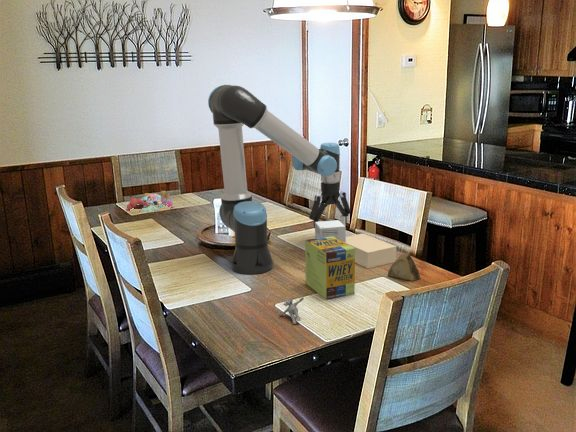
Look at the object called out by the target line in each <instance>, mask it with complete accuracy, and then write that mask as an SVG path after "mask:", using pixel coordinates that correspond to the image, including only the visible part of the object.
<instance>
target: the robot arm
mask: <svg viewBox="0 0 576 432" xmlns="http://www.w3.org/2000/svg"><path fill="white" fill-rule="evenodd" d="M207 100H208V103H207V105H208V108H209V110H210V112H211V113H212V119H213V126H215V127H216V128H217V129H218V139H219V148H220V160H221V170H222V177H223V178H222V180H223V191H224V193H223V194H222V195H221V197H220V200H221V201H220V202H221V204H220V206H219V211H218V213H219V219H220V220H221V222H222V223H223V225H224V226H225V227H226V228H228V229H230V230H232V231H233V232H234V240H235V244H234V245H235V248H234V249H235V250H234V252H233V255H232V260H231V270H232V271H233V272H236V273H238V274H243V275H256V274H263V273H267V272H269V271H271V270H273V267H274V259H273V256H272V254H271V251H270V249H269V246H268V213H267V208H266V206H265V205H264V204H263V203H260V202H259V201H253V194H252V193H251V192H250V191H248V183H247V173H246V172H247V171H246V169H247V168H246V159H245V150H244V149H245V148H244V137H243V126H244V125H245V126H246V127H247V128H249V129H254V130H256V131H257V132H259V133H260V134H262V135H264V136H265V137H266V138H268V139H270V140H271V141H272V142H273V143H275V144H276V145H278V146H279V147H280V148H282V149H283V150H285V151H286V152H288V153H289V154H290V155H291V165H292V167H293V169H294V170H296V171H303V172H304V171H309V172H312V173H315V174H318V175H320V181H321V183H320V191H321V194H320V195H314V196H313V197H314V201H313V203H312V204H313V205H312V207H311V211H310V214H309V216H308V217H309V218H308V219H309V220H311V221H313V228H314V229H315V222H320V221H321V220H320V219H321V217H322V215H323V213H324V211H325V210H326V209H327V207H328V206H331V205H335V206H336V208H337V209H338V211H339V213H340V214H341V215H340V216H339V221H340V222H341V223H342V224H343V225H344V226H345V227H346V224H347V218H348V217H349V215H350V214H351V213H352V212H351V208H350V205H349V203H348V200H347V192H345V191H340V190H341V189H340V180H341V179H340V173H341V172H340V169H341V168H340V163H341V162H340V159H341V158H340V155H341V153H340V145H339V144H338V143H337V142H323V143H320V147H317V146H315V145H314V144H313V143H311V141H309V140H307V139H306V138H305V137H304V136H303V135H301V134H299V132H297V131H295V130H294V129H293V128H292V127H290V126H289V125H288V124H287V123H285V122H284V121H282V119H280V118H278V117H277V116H276V115H274V113H272V112H270V111H269V110H268V107H267V105H266V104H265V103H263V102H262V101H261V100H260V99H259V98H257V97H256V96H255V95H254V94H253V93H251V92H250V91H249V90H248V89H246V88H244V87H242V86H240V85H231V84H221V85H219V86H217V87H214V88H213V90H211V92H210V94H209V96H208V99H207ZM339 198H340V199H339Z"/></svg>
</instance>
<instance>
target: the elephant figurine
mask: <svg viewBox="0 0 576 432" xmlns="http://www.w3.org/2000/svg"><path fill="white" fill-rule="evenodd" d="M304 300H305V297H301V298H299V299H298V301H296V302H294V297H290V298H289V299H286V300H285V301H284V303H283V304H282V305H283V306H285V307H287V308H286V309H285V310H284V311H283V312H282V313H281V312H280V314H279V316H280V317H282V316H284V315H285V314H286V313H288V314H289V316H290V318H291V320H292V321H291V322H292V324H294V325H296V324H297V321H298V322H300V321H301V317H300V315H299V309H298V307H297V305H298V304H300V303H301V302H303V301H304Z"/></svg>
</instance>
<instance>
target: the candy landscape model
mask: <svg viewBox="0 0 576 432" xmlns="http://www.w3.org/2000/svg"><path fill="white" fill-rule="evenodd" d="M160 193H161V194H158V193H149V192H145V193H144V194H143V197H142V198H138V199H137V198H136V197H132V198H130V200H129V203H128V204H127V205H126V209H125V212H126V211H130V209H132V208H134V209H142V208H143V209H142V210H141V211H139V212H151V211H155V212H156V211H157V210H160V208H164V207H163V205H165V206H166V205H167V204H168V205H167V206H168V207H170V206H172V205H173V204H174V201H173V195H170V193H167V194H166V190H161V192H160ZM166 203H167V204H166ZM137 204H139V205H137ZM148 204H152V205H148ZM162 204H163V205H162ZM154 205H158V207H156V206H154ZM159 207H160V208H159Z"/></svg>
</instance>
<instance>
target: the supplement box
mask: <svg viewBox="0 0 576 432" xmlns="http://www.w3.org/2000/svg"><path fill="white" fill-rule="evenodd" d="M333 220H334V221H326V220H322V221H321V220H319V221H320V222H315V228H314V237H315V238H314V239H316V238H324V237H331V236H333V237H335V238H337V239H339V240H341V241H343V242H345V243H346V231H347V227H346V225H345V226H344V225H343V224H342V223H341V222H340V219H339V220H338V219H337V220H335V219H333Z"/></svg>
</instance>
